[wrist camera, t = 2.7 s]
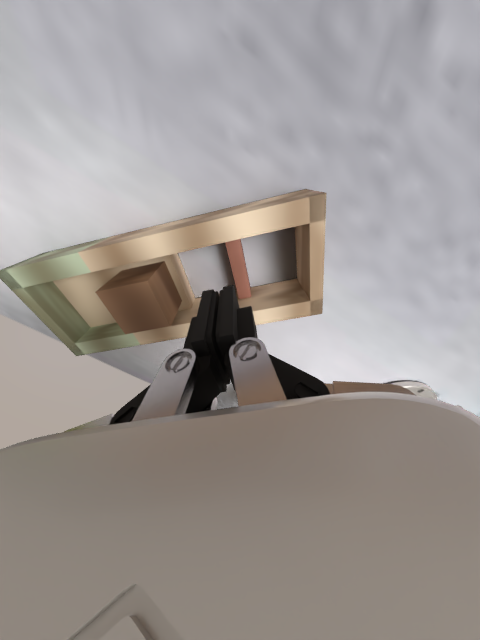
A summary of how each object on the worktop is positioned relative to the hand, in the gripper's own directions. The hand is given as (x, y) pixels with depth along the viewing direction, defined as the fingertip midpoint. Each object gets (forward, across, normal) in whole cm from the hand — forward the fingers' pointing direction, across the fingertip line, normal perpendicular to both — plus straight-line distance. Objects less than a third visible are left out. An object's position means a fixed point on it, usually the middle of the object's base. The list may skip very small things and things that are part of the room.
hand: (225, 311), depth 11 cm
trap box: (+10, +5, +1) cm, 11 cm away
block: (+8, +7, +1) cm, 11 cm away
